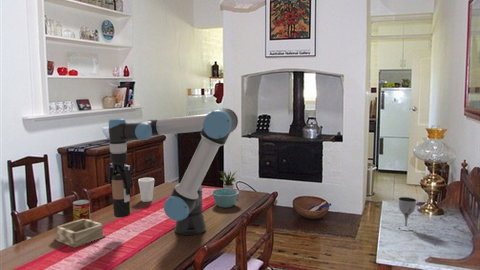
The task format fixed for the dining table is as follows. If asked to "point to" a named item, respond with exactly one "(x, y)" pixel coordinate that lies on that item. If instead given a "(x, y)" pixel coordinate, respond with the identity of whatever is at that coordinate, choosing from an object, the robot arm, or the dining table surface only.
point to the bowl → (225, 197)
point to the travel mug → (119, 197)
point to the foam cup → (146, 189)
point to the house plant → (228, 180)
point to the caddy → (79, 232)
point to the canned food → (81, 209)
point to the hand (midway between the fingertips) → (121, 200)
